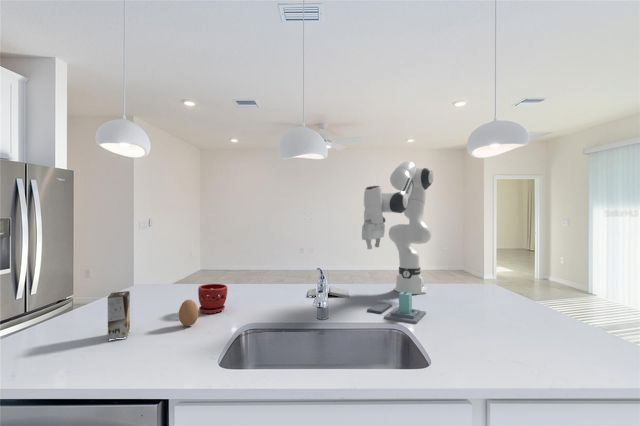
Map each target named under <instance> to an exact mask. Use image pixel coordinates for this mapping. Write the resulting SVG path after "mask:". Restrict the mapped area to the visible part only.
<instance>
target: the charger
mask: <svg viewBox="0 0 640 426" xmlns="http://www.w3.org/2000/svg"><path fill="white" fill-rule="evenodd" d="M398 307H399V313H405V314H412V309H413V294H412V293H408V292H401V293H399V292H398Z"/></svg>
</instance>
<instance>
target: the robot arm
mask: <svg viewBox="0 0 640 426" xmlns="http://www.w3.org/2000/svg"><path fill="white" fill-rule="evenodd" d="M433 181H434V173H433V171H432V169H430V168H427V167H424V168H421V167H417V166H416V165H415V164H414V163H413V162H412V161H409V160H408V161H403V162H402V163H400V164H399V165H398V166H397V167H396V168H395V169H394V170H393V172H392V173H391V175H390V177H389V182H390V184H391V186H392V188H394V189H395V190H397V192H383V191H382V188H381V186H380V185H371V186H370V185H369V186H366V187H365V188H364V189H365V190H364V191H363V193H364V194H363V206H364V211H363V224H362V225H361V226H362V227H361V239H362V240H363V241H365V242H366V246H367V249H368V250H373V245H372V240H375V243H374V248H380V242H381V238H385V237H384V236H385V227H386V226H385V223H386V218H385V217H384V215H383V213H395V214H402V213H403V214H404V216H405V217H406V219H408V221H409V224H405V223H398V224H394V225H391V226H390V228H389V229H388V230H389V231H388V236H389V239H390V240H391V241H392V242H393V243H394V245H395V246H396V249H397V251H398V258H399V267H398V274H397V276H396V280H395V287H393V291H395V292H397V293H398V294H399V293H401V292H408V293H412V295H420V294H427V291H428V286H425V284H424V278H423V277H422V275H421V270H422V269H421V266H420V255H419V252H418V251H416V250H415V249H414V248H413V246H412V244H413V245H414V244H415V245H422V244H427V243H428V242H430V240H431V237H432V232H431V231H432V230H431V229H430V228H429V227H428V225H427V224H426V223H425V220H424V212H425V211H424V210H425V206H426V199H427V198H426V197H427V196H426V195H427V194H426V193H427V192H426V190H428V188H429V187H430V186H431V185H432V184H433Z"/></svg>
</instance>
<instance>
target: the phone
mask: <svg viewBox="0 0 640 426" xmlns="http://www.w3.org/2000/svg"><path fill="white" fill-rule="evenodd" d="M392 305H393V304H389V303H381V302H377V303H375V304H374V305H372V306H371V307H369V308H368V309H367V310H366V312H367V313H373V314H380V315H382V314H384V313H385V312H386V311H388V309H391V308H392Z"/></svg>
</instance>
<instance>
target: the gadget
mask: <svg viewBox="0 0 640 426" xmlns="http://www.w3.org/2000/svg"><path fill="white" fill-rule="evenodd" d="M328 288H329V294H328V295H330V296H331V295H332V296H337V297H340V298H350V293H349V291H348V289H345V288H339V287H335V286H331V285H330V287H328ZM316 293H317V292H316V288H311V289H308V293H307V297H308V296H313V297H312V298H315V296H316Z"/></svg>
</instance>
